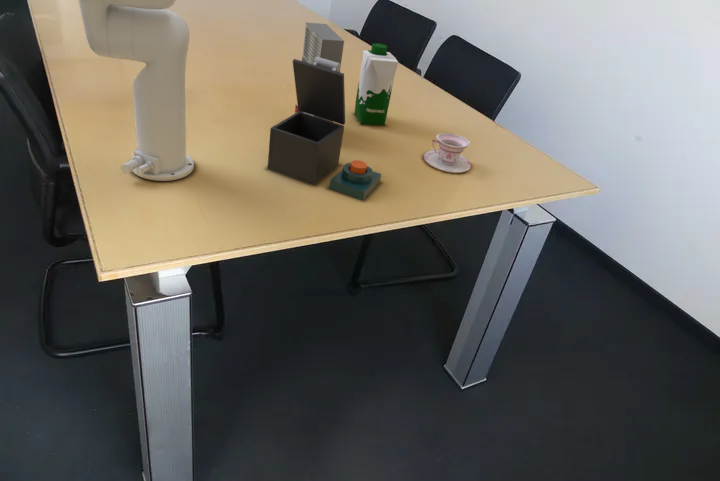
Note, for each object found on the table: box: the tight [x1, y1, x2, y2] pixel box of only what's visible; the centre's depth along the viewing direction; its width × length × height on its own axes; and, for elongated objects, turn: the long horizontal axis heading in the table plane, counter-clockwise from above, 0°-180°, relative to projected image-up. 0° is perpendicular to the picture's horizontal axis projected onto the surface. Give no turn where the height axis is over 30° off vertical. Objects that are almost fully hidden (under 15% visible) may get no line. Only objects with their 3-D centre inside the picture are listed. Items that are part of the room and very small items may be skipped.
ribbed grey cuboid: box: [294, 22, 345, 123], centre depth 138 cm, size 14×6×25 cm, turn 21°
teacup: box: [423, 132, 472, 174], centre depth 140 cm, size 12×12×6 cm
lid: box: [292, 57, 346, 126], centre depth 123 cm, size 13×12×5 cm
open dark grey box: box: [267, 111, 345, 186], centre depth 125 cm, size 13×12×10 cm
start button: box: [350, 159, 368, 174], centre depth 122 cm, size 4×4×2 cm
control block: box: [329, 162, 382, 201], centre depth 123 cm, size 10×8×4 cm
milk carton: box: [354, 42, 399, 126], centre depth 152 cm, size 9×9×20 cm
